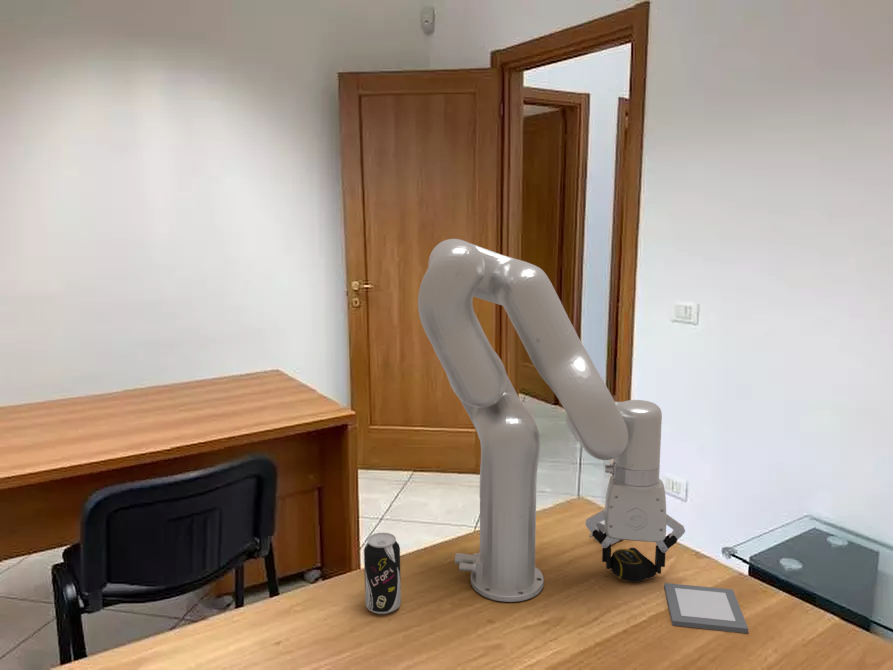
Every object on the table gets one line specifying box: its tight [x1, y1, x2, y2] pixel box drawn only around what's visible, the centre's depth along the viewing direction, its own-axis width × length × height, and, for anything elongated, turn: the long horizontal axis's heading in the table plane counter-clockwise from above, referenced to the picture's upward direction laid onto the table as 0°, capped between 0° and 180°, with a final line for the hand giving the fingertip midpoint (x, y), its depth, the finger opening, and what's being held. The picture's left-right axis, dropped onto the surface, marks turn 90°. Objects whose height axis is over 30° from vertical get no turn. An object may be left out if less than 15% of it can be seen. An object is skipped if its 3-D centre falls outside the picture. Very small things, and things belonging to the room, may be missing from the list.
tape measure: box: [610, 547, 657, 583], centre depth 119 cm, size 7×7×4 cm
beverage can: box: [363, 532, 402, 615], centre depth 109 cm, size 6×6×12 cm
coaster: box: [663, 582, 749, 634], centre depth 109 cm, size 11×11×1 cm
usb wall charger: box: [589, 520, 621, 546], centre depth 131 cm, size 4×7×4 cm, turn 130°
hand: (632, 567), depth 119 cm, fingers closed on tape measure, 7 cm apart
